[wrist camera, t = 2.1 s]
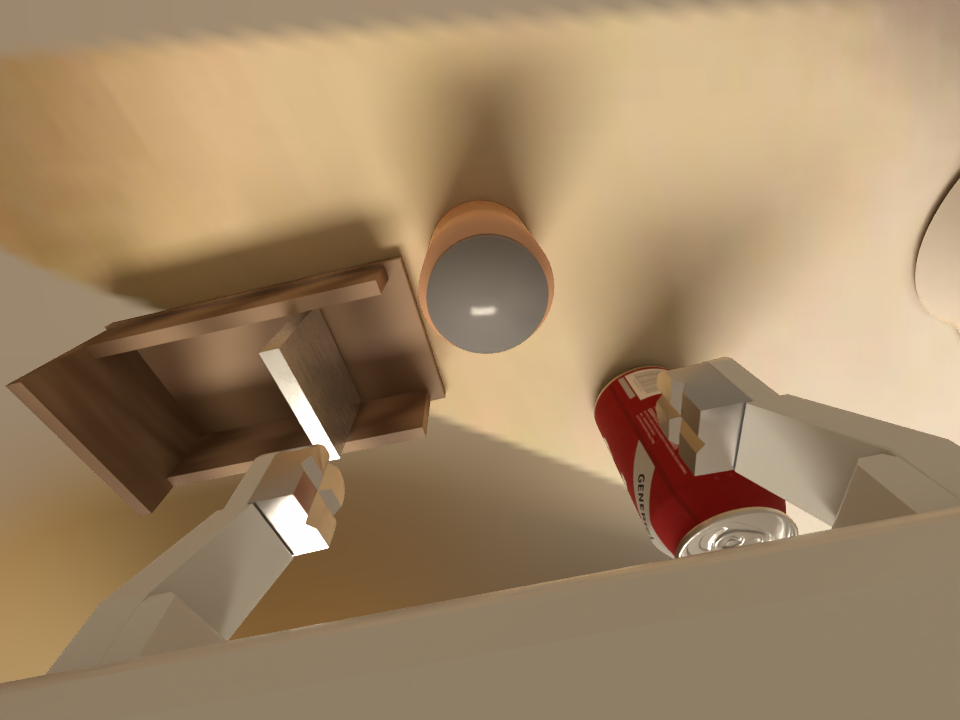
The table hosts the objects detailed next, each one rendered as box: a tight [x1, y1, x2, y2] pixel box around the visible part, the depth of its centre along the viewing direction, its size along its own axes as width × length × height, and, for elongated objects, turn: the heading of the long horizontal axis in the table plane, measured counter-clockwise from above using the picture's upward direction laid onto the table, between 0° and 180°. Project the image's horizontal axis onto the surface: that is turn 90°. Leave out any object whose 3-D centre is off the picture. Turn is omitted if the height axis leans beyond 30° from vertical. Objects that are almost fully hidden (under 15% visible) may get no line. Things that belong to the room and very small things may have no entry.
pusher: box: [259, 309, 362, 460], centre depth 22 cm, size 3×7×6 cm, turn 13°
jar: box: [419, 200, 554, 354], centre depth 19 cm, size 6×6×7 cm
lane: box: [6, 256, 445, 516], centre depth 23 cm, size 18×10×7 cm, turn 102°
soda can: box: [594, 366, 798, 559], centre depth 23 cm, size 7×7×12 cm
